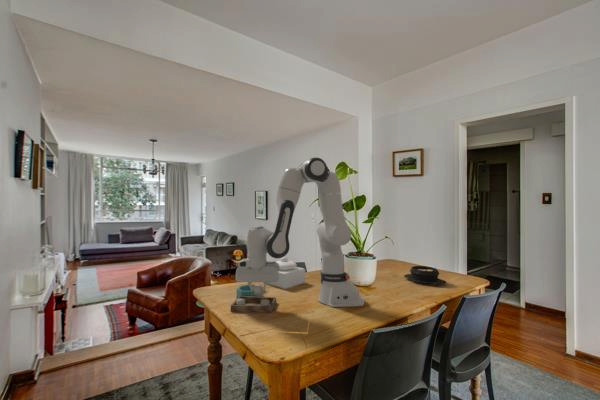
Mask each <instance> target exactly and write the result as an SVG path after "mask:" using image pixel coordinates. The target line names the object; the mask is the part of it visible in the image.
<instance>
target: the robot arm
mask: <svg viewBox="0 0 600 400" xmlns="http://www.w3.org/2000/svg"><path fill="white" fill-rule="evenodd" d="M305 183H306V184H307V183H315V184H316V186H317V189H318V199H319V203H318V204H319V211H320V214H321V216H322V219H323V222H321V223H320V224H319V225H318V227H317V229H316V232H317V236H318V241H319V246H320V248H319V249H320V252H321V271H320V289H319V294H318V295H319V296H318V299H317V300H318V303H321V304H324V305H328V307H331V308H345V307H349V308H350V307H363V306H364V305H365V300H364V298H363V296H361V295H360V291H359V288H358V287H357V286H356V285H355V284H354V283H352V282H351V281H350V279H351V277H350V275H349V273H348V272H346V271H345V255H344V254H343V250H342V246H344V245H347V244H348V243H349V242H350V241H351V238H352V232H351V229H350V227H349V226H348V223H347V221H346V217H345V214H344V211H343V200H342V190H341V185H340V180H339V176H338V174H337V173H335V172H333V171H330V169H329V167H328V165H327V164H326V162H325V161H324V160H323V159H322V158H320V157H311V158H309V159H306V160H305V161H304V162H303V163H301V164H300V165H298V167H297V168H296V167H288V168H286V169H285V171H284V172H283V174H282V176H281V178H280V181H279V184H278V186H277V187H278V188H277V191H276V200H275V202H276V205H277V209H278V215H277V216H278V217H277V220H276V224H275V229H274V231H271V230H270V229H267V228H266V227H265V226H256V227H251V228H250V229H249V230H248V232H247V238H246V247H247V256H246V257H247V258H243V259H241V260H239V261H238V262H237V263H236V264H237V268H236V270H235V282H237V283H247V285H249V287H250V291H254V287H253V286H252V285H253V284H252V283H263V286H262V288H261V291H262V293H263V292H266V287H267V285H268V284H267V282H277V281H278V280H279V272H278V270H279V264H278V263H277V262H276V261H267V254H268V255H269V256H270V257H272V258H274V259H281V258H282V257H286V256H287V255H288V253H289V252H290V246H291V245H290V240H289V234H290V229H291V225H292V221H293V217H294V213H295V210H296V208H297V205H298V202H299V200H300V197H301V193H302V189H303V186H304V184H305ZM276 263H277V264H276Z"/></svg>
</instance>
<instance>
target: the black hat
mask: <svg viewBox="0 0 600 400" xmlns="http://www.w3.org/2000/svg"><path fill="white" fill-rule="evenodd" d="M409 272H410V273H407V274H405V275H403V278H407V279H408V280H411V281H413V282H415V283H418V284H423V285H443V284H446V283H447V281H446V280H444V279H441V278H439V275H440V272H439V270H438V269H437V268H436V267H431V266H425V265H413V266H411V268H410V270H409Z"/></svg>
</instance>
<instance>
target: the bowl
mask: <svg viewBox="0 0 600 400" xmlns="http://www.w3.org/2000/svg"><path fill="white" fill-rule="evenodd" d="M251 285H252V286H253V287H254V285H255V284H251ZM239 296H252V297H263V294H262V295H259V296H255V295H254V291H250V287H249V285H248V284H244V285H239V286H238V287H237V288H236V299H237V298H238V297H239Z"/></svg>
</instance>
